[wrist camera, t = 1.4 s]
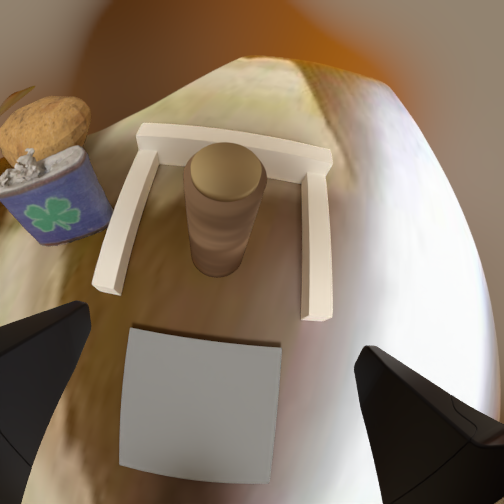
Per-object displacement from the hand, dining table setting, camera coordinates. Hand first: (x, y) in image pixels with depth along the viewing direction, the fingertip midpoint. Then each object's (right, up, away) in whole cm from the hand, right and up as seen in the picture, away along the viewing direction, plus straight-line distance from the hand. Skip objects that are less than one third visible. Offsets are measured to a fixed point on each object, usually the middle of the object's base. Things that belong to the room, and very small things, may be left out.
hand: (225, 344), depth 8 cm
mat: (-3, -10, +10) cm, 14 cm away
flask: (-16, +5, +14) cm, 22 cm away
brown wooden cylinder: (-2, +3, +15) cm, 16 cm away
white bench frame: (-2, +5, +17) cm, 18 cm away
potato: (-24, +14, +17) cm, 32 cm away
